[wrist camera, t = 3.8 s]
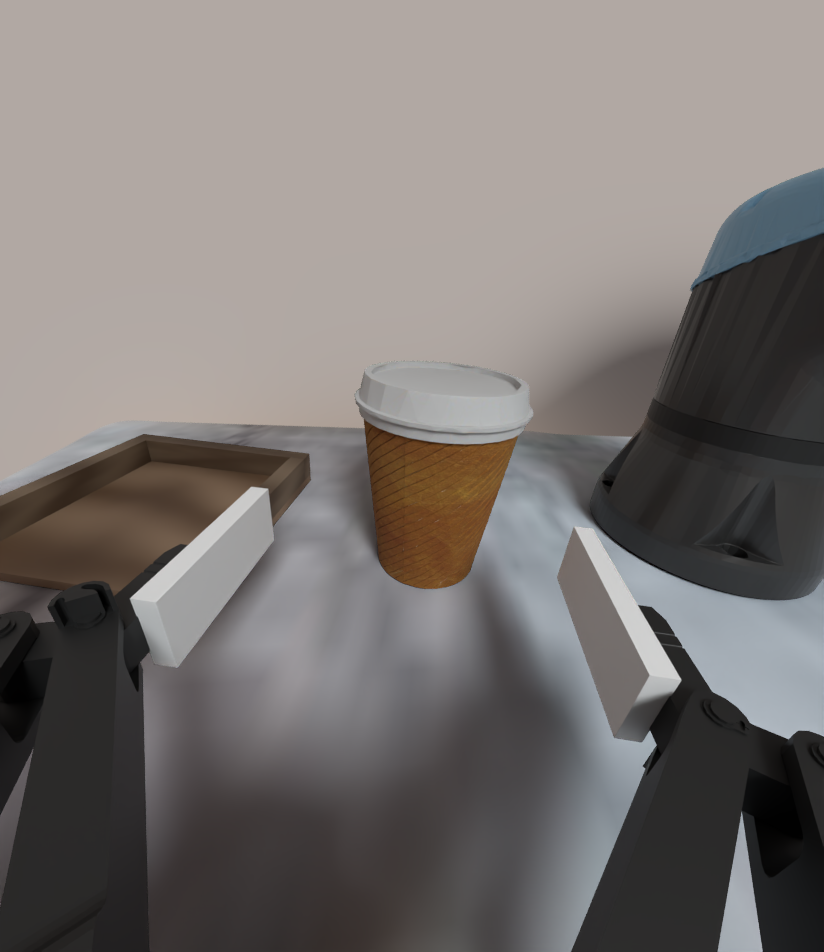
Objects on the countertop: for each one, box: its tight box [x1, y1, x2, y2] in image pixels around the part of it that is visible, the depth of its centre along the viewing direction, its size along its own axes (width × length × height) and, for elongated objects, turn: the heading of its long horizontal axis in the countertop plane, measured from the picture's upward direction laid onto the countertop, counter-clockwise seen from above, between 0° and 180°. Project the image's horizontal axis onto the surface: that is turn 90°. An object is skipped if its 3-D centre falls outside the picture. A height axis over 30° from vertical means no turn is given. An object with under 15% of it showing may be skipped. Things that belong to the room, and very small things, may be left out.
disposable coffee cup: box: [355, 361, 533, 589], centre depth 22 cm, size 10×10×12 cm
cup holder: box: [0, 434, 311, 596], centre depth 26 cm, size 15×15×3 cm
